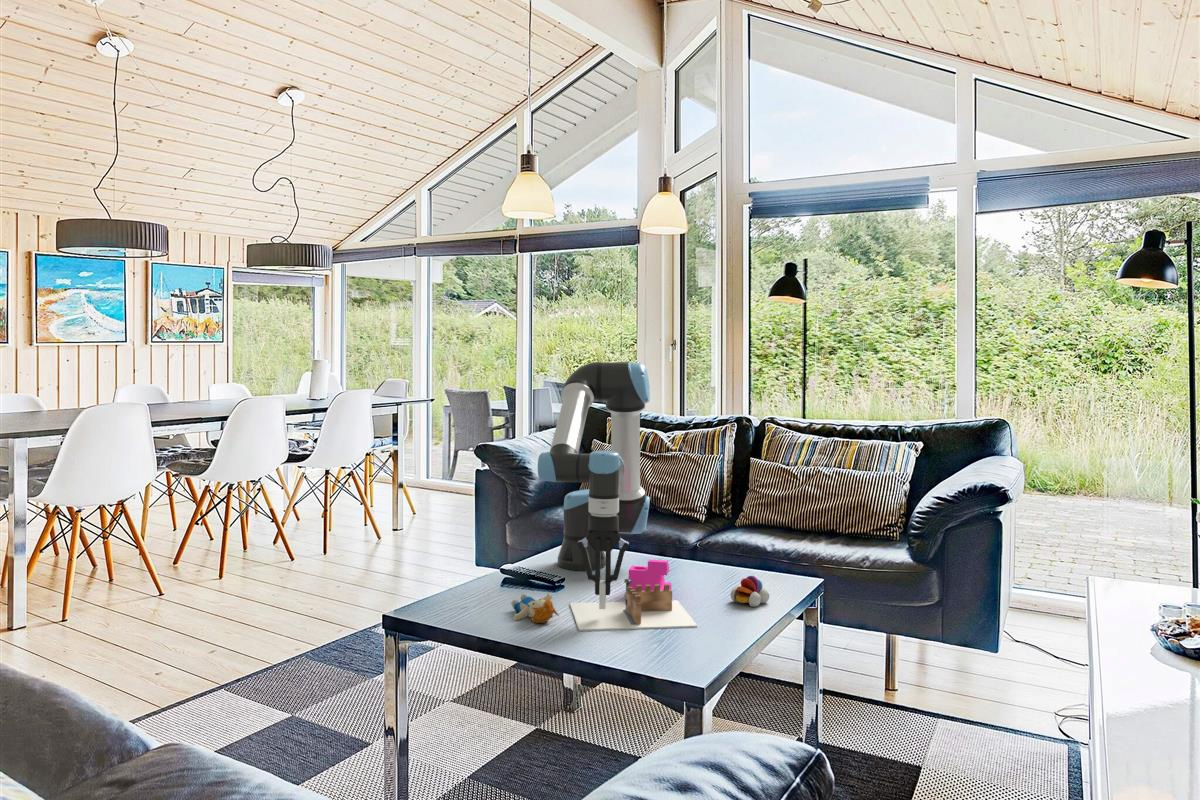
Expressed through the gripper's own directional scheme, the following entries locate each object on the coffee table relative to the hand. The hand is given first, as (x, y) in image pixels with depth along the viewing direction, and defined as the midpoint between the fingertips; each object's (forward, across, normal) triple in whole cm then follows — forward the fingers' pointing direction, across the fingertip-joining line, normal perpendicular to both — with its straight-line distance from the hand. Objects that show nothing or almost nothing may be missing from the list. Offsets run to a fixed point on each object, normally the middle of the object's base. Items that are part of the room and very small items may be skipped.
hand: (602, 607), depth 213 cm
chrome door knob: (+3, +6, +7) cm, 10 cm away
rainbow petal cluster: (+4, +39, +19) cm, 43 cm away
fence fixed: (+3, +12, +8) cm, 15 cm away
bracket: (+4, +12, +23) cm, 26 cm away
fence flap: (+3, +8, +1) cm, 8 cm away
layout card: (+3, +7, +5) cm, 9 cm away
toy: (+4, -17, +1) cm, 18 cm away
